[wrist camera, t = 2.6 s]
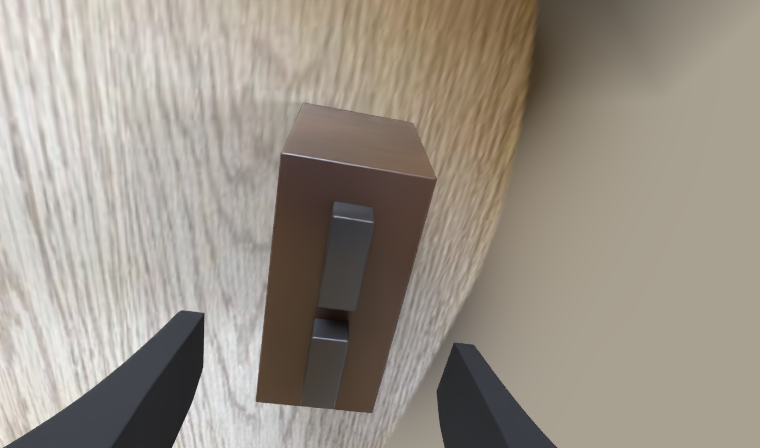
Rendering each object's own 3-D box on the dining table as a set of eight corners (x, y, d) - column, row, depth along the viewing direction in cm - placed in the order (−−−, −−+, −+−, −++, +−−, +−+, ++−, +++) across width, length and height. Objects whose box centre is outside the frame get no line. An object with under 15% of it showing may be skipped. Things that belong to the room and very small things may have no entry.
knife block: (413, 122, 18) (443, 192, 12) (368, 314, 23) (373, 436, 17) (303, 102, 18) (275, 164, 12) (279, 303, 22) (249, 425, 16)
